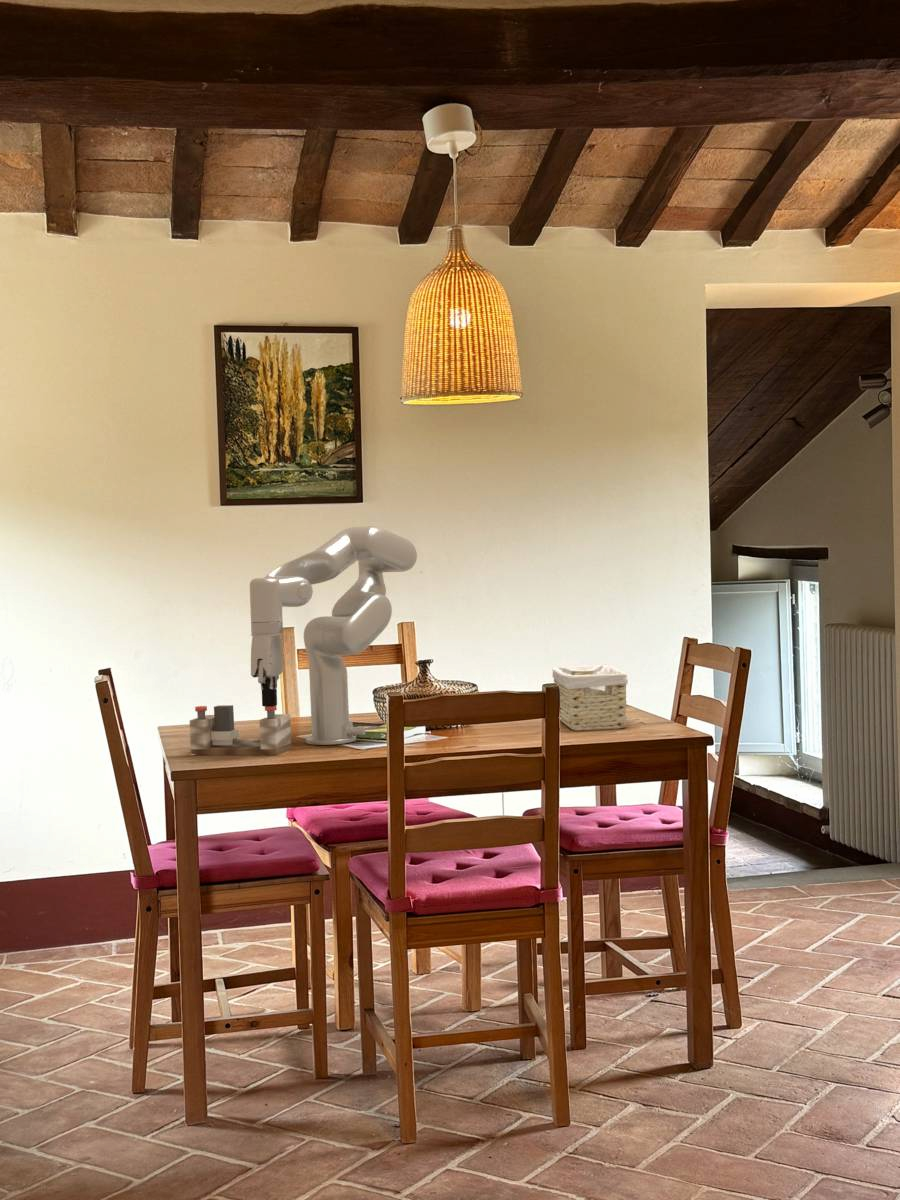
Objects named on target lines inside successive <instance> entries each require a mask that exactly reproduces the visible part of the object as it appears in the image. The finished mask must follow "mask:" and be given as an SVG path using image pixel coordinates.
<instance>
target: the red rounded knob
mask: <svg viewBox="0 0 900 1200" xmlns="http://www.w3.org/2000/svg"><path fill="white" fill-rule="evenodd" d="M194 709H195V712H197V713H196V714H197V715H196V716H197V718H198V720H204V719H205V715H206V712H208V707H207V706H206V705H199V706H195V707H194Z"/></svg>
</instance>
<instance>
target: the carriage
mask: <svg viewBox="0 0 900 1200" xmlns="http://www.w3.org/2000/svg"><path fill="white" fill-rule="evenodd" d="M213 715H214V721H215V731H213V732H211V740H212V744H213V745H233V740H232V739H239V728H235V717H234V705H233V704H232V705H231V704H230V705H227V704H226V705H215V706H213Z"/></svg>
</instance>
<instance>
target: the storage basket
mask: <svg viewBox="0 0 900 1200" xmlns="http://www.w3.org/2000/svg"><path fill="white" fill-rule="evenodd" d="M551 671H552V678H553V682H554V684H557V685H558V686H559V688H560V718H561V720H560V721H561V722H562V723H564V724H565V726H567V727H568V728H569V729H571V730H573V731H576V732H579V731H581V732H582V731H591V730H594V731H599V730H600V731H602V730H611V729H613V730H619V729H624V728H626V721H627V715H626V713H627V708H626V707H627V685H628V683H629V682H628V678H627V675H628V674H627V673H626V672H625V671H623V670H621V669H620V668H617V667H616V666H614V665H607V664H595V665H593V664H591V665H590V664H589V665H572V666H571V665H570V666H568V665H567V666H554V667H552V670H551ZM554 684H553V685H554Z"/></svg>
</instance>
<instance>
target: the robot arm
mask: <svg viewBox="0 0 900 1200" xmlns="http://www.w3.org/2000/svg"><path fill="white" fill-rule="evenodd" d="M417 558H418V553H417V549H416V547H415V545H414V544H413V542H411V541H410V540H409V539H407V538H405V537H403V536H401V535H398V534H395V533H393V532H392V531H389V530H387V529H384V528H381V527H378V526H356V527H355V526H354V527H353V526H352V527H347V528H345V529H342V530H341V531H339V532H338V533H337V534H336V535H334V536H332V537H331V538H330V539H329V540H327V541H326V542H325V543H323V544H322V545H321V546H319V547H318V548H316V549H315V550H313V551H311V552H310V551H309V552H308V553H305V554H304V555H301V556H299V557H297V558H294V559H292V560H289V561H288V562H287V561H286V562H285V563H283V564H281V565H279V566H277V567H276V568H275V569H274V570H272V571H270V572H269V573H268V574H267V575H265V576H264V577H257V578H252V579H251V581H250V582H249V605H250V630H251V631H250V632H251V633H250V636H251V646H250V676H251V677H252V678H257V683H258V684H260V689H261V706H262V707H265V706H277V705H278V695H277V694H278V690H277V688H278V680H279V679H280V675H282V673H283V672H284V655H283V652H284V651H283V642H282V636H284V627H283V626H284V623H283V622H284V621H283V607H284V608H298V607H303V606H305V605H306V604H307V603H309V602H310V600H311V599H312V597H313V593H314V590H313V589H314V588H313V585H317V584H322V583H325V582H328V581H330V580H331V581H332V580H333V579H335V578H336V577H338V576H339V575H341V574H342V573H343V572H344V571H346V570H347V569H349V567H351V566H352V565H354V564H355V563H356V562H357V563H358V577H357V580H356V581H355V583H354V584H353V585H352V586H351V587H350V588H349V589H348V590H347V591H346V592H344V594H343V595H341V597H340V598H338V600H337V601H336V602H335V603H334V605H333V607H332V609H331V610H332V611H331V616H325V615H324V616H318V617H315V618H313V619H310V621H309V622H307V624H306V625H305V627H304V631H303V643H304V648H305V652H306V655H307V661H308V670H309V671H308V673H309V674H308V675H309V694H310V695H309V696H310V699H309V701H310V718H311V719H310V721H311V736H307V737H306V738H305V743H306V744H308V745H313V746H314V745H315V746H328V745H329V746H331V745H344V744H348V743H353V742H356V741H357V736H358V735H359V736H363V735H366V727H364V726H354V723H353V721H350V713H349V712H350V711H349V706H350V705H349V690H348V689H349V688H348V687H349V686H348V684H349V683H348V682H349V681H348V669H347V665H346V663H345V661H344V658H343V657H342V656H354V655H359V654H361V653H363V652H364V651H365V650H366V649H367V648H368V647H369V646H370V645H371V644H373V642H374V641H375V640H376V639H377V637H379V636H380V635H381V634H382V632H383V631H384V630H385V629H386V628H387V626H388V625H389V623H390V622H391V618H392V613H393V608H392V607H393V606H392V603H391V601H390V600H389V598H388V597H387V595H386V594H387V587H386V584H385V580H384V573H403V572H407V571H409V570H411V569H412V568H413V567H414V566H415V564H416V563H417ZM353 735H355V736H353Z"/></svg>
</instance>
